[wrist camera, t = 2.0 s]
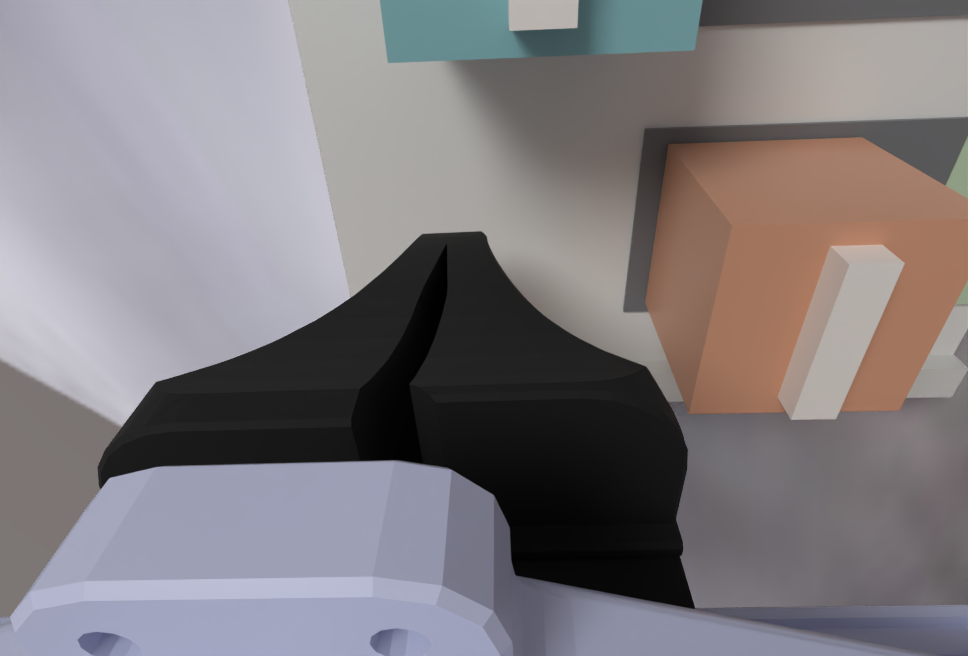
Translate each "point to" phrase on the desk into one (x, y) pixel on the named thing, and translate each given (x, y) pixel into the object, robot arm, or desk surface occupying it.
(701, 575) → the desk surface
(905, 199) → the orange block with handle
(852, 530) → the desk surface
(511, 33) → the teal handled block
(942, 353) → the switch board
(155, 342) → the desk surface
